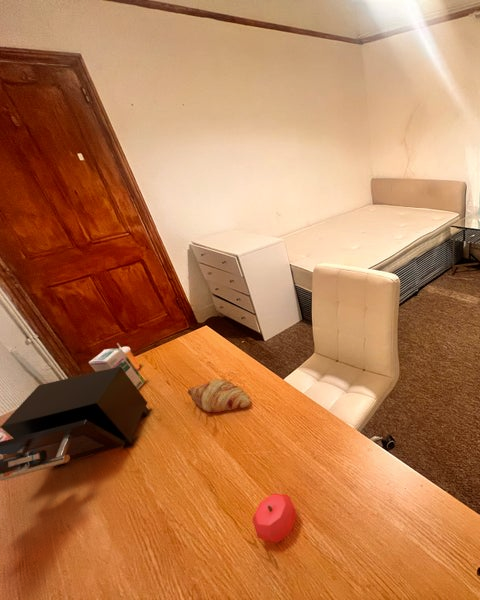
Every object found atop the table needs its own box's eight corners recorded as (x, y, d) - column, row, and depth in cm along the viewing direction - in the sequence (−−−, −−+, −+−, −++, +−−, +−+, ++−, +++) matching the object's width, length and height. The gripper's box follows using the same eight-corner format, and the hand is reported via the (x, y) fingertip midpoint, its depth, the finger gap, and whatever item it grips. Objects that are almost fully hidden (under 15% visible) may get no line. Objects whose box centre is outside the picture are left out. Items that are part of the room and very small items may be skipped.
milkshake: (140, 361, 110) (125, 339, 105) (143, 368, 107) (127, 346, 101) (125, 368, 107) (108, 346, 102) (127, 376, 104) (110, 353, 99)
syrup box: (133, 395, 96) (106, 360, 88) (115, 396, 96) (87, 361, 89) (146, 381, 101) (122, 347, 93) (128, 382, 101) (103, 348, 94)
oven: (134, 446, 80) (96, 402, 72) (51, 470, 76) (-1, 427, 67) (151, 408, 91) (120, 366, 82) (79, 427, 87) (38, 385, 78)
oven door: (116, 472, 74) (73, 453, 64) (30, 498, 70) (-31, 482, 60) (125, 441, 78) (86, 419, 68) (44, 464, 75) (-10, 444, 65)
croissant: (261, 406, 93) (261, 380, 92) (236, 421, 83) (237, 392, 83) (202, 396, 98) (203, 371, 97) (173, 409, 88) (173, 382, 87)
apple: (281, 497, 67) (271, 477, 63) (308, 516, 64) (298, 496, 59) (250, 534, 61) (236, 515, 57) (277, 558, 58) (265, 539, 54)
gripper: (-7, 444, 52) (77, 427, 68) (-113, 472, 48) (2, 448, 65) (-6, 491, 50) (80, 463, 67) (-115, 524, 47) (3, 485, 64)
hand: (41, 455), depth 66 cm, fingers closed
